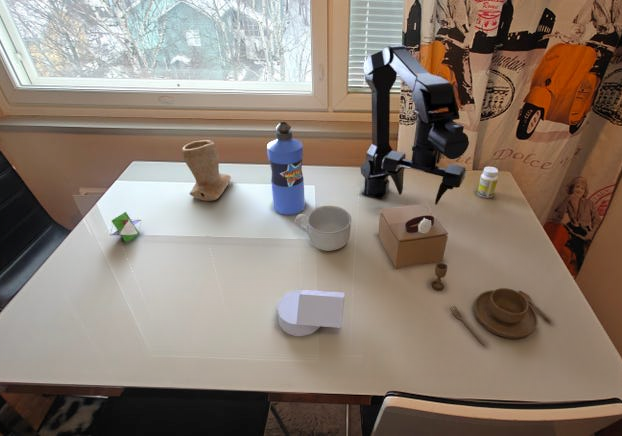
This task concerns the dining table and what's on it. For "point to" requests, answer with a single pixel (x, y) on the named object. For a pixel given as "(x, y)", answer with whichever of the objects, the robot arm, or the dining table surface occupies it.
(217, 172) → the stone cup
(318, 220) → the teacup
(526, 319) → the place setting
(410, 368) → the dining table surface
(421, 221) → the watch
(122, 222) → the geometric puzzle
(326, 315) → the wedge on round base
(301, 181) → the water bottle
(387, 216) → the flap
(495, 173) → the supplement bottle
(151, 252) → the dining table surface
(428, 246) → the carton
